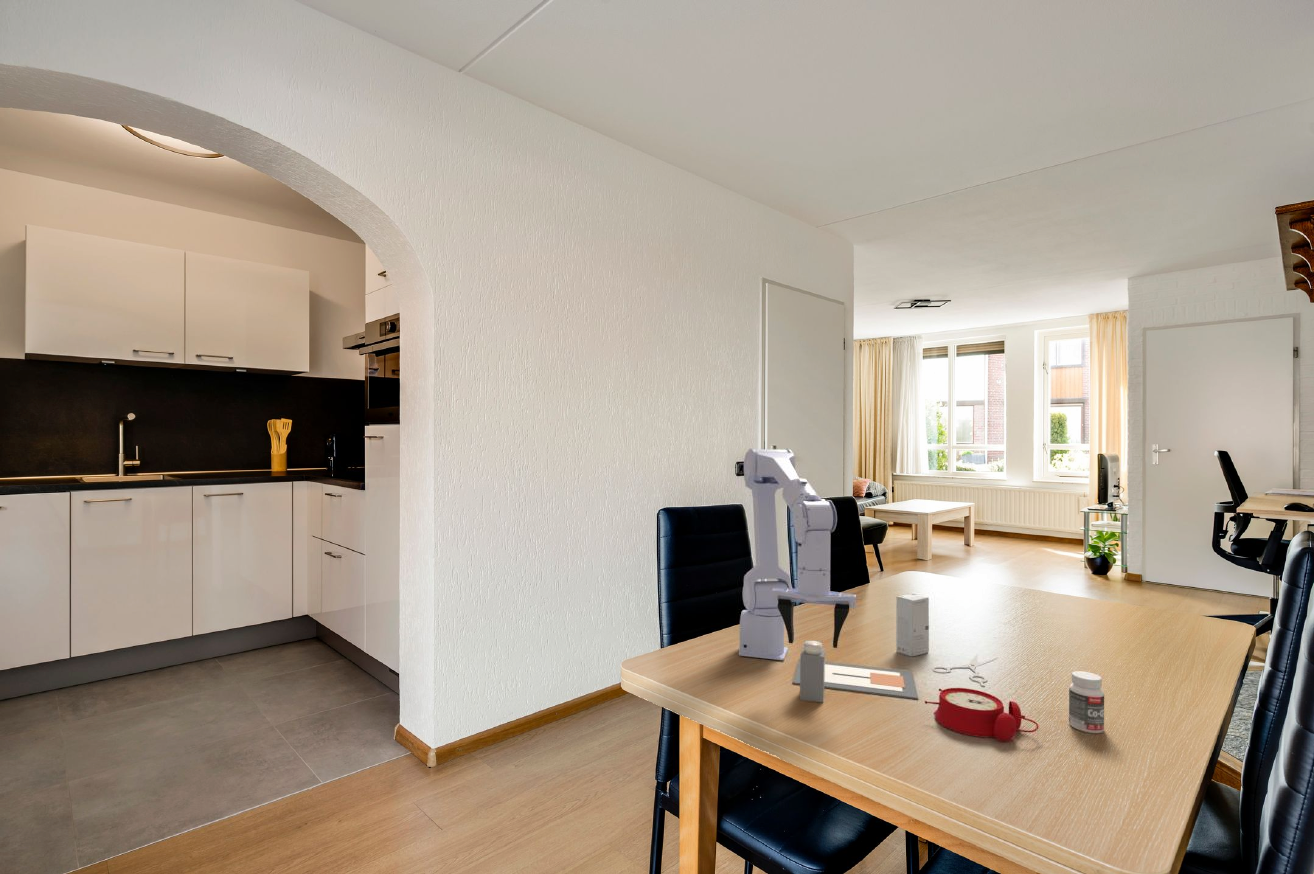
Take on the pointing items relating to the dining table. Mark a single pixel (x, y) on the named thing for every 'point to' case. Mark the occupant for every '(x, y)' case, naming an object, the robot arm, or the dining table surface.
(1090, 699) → the pill bottle
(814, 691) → the grey post with dome
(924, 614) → the skincare box
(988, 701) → the alarm clock
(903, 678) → the mat
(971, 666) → the scissors
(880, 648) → the dining table surface
